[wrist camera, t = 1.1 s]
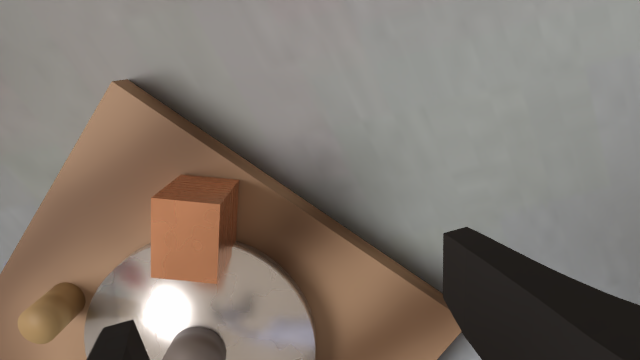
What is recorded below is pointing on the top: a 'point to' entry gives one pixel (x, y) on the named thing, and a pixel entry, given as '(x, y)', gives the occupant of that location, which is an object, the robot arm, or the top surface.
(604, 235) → the top surface
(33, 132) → the top surface
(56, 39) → the top surface
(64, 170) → the mounting board
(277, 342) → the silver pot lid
